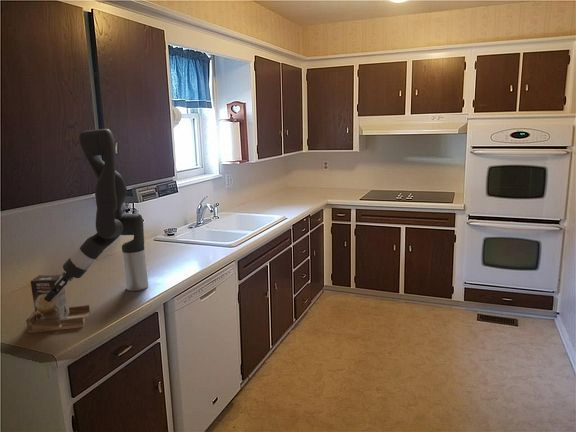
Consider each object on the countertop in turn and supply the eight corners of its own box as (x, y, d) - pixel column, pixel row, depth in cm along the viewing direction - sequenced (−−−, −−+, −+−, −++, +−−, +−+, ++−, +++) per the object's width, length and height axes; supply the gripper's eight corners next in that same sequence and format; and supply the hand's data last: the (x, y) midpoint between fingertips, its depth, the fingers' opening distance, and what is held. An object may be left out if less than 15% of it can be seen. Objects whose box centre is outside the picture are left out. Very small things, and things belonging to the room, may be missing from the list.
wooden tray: (39, 318, 166) (37, 306, 165) (90, 313, 170) (88, 300, 169) (28, 333, 155) (26, 320, 154) (83, 326, 159) (81, 314, 158)
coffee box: (35, 323, 158) (28, 281, 155) (44, 315, 165) (38, 275, 161) (61, 322, 159) (55, 280, 155) (69, 314, 165) (63, 274, 162)
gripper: (75, 250, 165) (46, 283, 165) (65, 262, 152) (34, 297, 152) (92, 262, 167) (64, 294, 168) (84, 275, 154) (53, 310, 154)
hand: (49, 296), depth 160 cm, fingers closed on coffee box, 7 cm apart
